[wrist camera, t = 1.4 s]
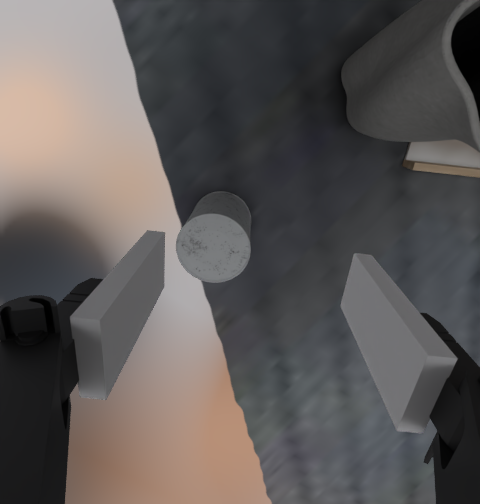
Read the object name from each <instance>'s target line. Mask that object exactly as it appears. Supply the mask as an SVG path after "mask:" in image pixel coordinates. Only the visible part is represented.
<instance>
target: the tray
mask: <svg viewBox="0 0 480 504" xmlns="http://www.w3.org/2000/svg"><path fill="white" fill-rule="evenodd" d="M402 166H403V167H406V168H409V169H411V170H418V171H427V172H436V173H444V174H453V175H462V176H471V177H480V153H479V152H478V151H477V150H476V149H474V148H472V147H471V146H469V145H468V144H466V143H464V142H462V141H459V140H456V139H455V140H444V141H430V142H409V144H408V148H407V151H406V155H405V158H404V161H403V165H402Z"/></svg>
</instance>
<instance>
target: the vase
mask: <svg viewBox="0 0 480 504" xmlns="http://www.w3.org/2000/svg"><path fill="white" fill-rule="evenodd" d="M341 79H342V83H343V86H344V89H345V91H346V95H347V105H346V113H347V118H348V121H349V123H350V125H351V126H352V127H353V128H354V129H355V130H356V131H358V132H360V133H362V134H364V135H367V136H370V137H372V138H376V139H381V140H387V141H396V142H430V141H444V140H455V139H456V140H459V141H462V142H464V143H466V144H468V145H469V146H471V147H472V148H474V149H476V150H477V151H478V152H479V153H480V0H422V1H420V2H419V3H417V4H416V5H415V6H413V7H412V8H410V9H409V10H407V11H406V12H405V13H403V14H402V15H401V16H399V17H398V18H397V19H395V20H394V21H393V22H391V23H390V24H389V25H388V26H387V27H385V28H384V29H383V30H382V31H380V32H379V33H378V34H376V35H375V36H374V37H373V38H371V39H370V40H369V41H368V42H367V43H365V44H364V45H363V46H362V47H361V48H359V49H358V50H357V51H356V52H355V53H353V54H352V55H351V56H350V57H349V58H348V59H347V60H346V61H345V63H344V65H343V67H342V71H341Z"/></svg>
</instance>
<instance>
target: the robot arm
mask: <svg viewBox="0 0 480 504" xmlns="http://www.w3.org/2000/svg"><path fill="white" fill-rule="evenodd" d="M164 248H165V233H164V232H157V231H147V232H146V233H145V234H144V235H143V236H142V237H141V238H140V239H139V240H138V242H137V243H136V244H135V245H134V246H133V247H132V248H131V249H130V251H129V252H128V253H127V254H126V255H125V256H124V257H123V258H122V259H121V261H120V262H119V263H118V264H117V265H116V266H115V268H113V270H112V271H111V272H110V273H109V274H108V275H107V276H106V277H105V279H95V278H90V279H88V280H86V281H84V282H82V283H80V284H78V285H77V286H76V287H75V288H74V289H73V290H72V291H71V292H70V294H68V295H67V296H66V297H65V298H64V299H63V301H61V302H60V303H59V304H58V305H57V304H56V301H55V300H54V299H52V298H50V297H47V296H42V295H41V296H40V295H38V296H37V295H35V296H26V297H20V298H17V299H14V300H11V301H8V302H7V303H5V304H3V305H1V306H0V504H65V492H66V475H67V459H68V445H69V429H70V414H71V413H70V412H71V402H70V394H71V392H72V390H73V389H74V387H75V386H76V384H77V383H78V387H79V396H80V397H84V398H93V399H102V400H103V399H104V400H106V399H107V397H108V395H109V394H110V392H111V389H112V387H113V386H114V383H115V382H116V380H117V378H118V376H119V374H120V372H121V370H122V368H123V366H124V364H125V362H126V360H127V358H128V356H129V354H130V352H131V351H132V349H133V347H134V345H135V343H136V341H137V339H138V337H139V335H140V333H141V331H142V329H143V327H144V325H145V323H146V321H147V319H148V317H149V315H150V313H151V311H152V310H153V308H154V306H155V304H156V302H157V300H158V298H159V296H160V294H161V292H162V290H163V288H164V257H165V256H164V255H165V254H164V253H165V249H164ZM340 306H341V308H342V311H343V313H344V315H345V317H346V319H347V322H348V324H349V326H350V328H351V331H352V333H353V335H354V337H355V339H356V342H357V344H358V346H359V348H360V351H361V353H362V355H363V357H364V359H365V362H366V364H367V366H368V368H369V370H370V373H371V375H372V377H373V379H374V382H375V384H376V386H377V388H378V390H379V393H380V395H381V397H382V399H383V401H384V404H385V406H386V408H387V410H388V413H389V415H390V417H391V419H392V421H393V424H394V426H395V428H396V430H397V431H404V432H413V433H423V432H424V430H425V428H426V426H427V424H428V422H429V419H431V420H432V422H433V424H434V425H435V427H436V429H437V433H436V435H435V437H434V439H433V441H432V443H431V445H430V447H429V450H428V452H427V454H426V456H425V459H424V463H427V464H428V463H429V461H430V459H431V458H432V457H434V474H435V491H436V504H480V367H479V366H478V365H477V364H476V363H475V362H474V361H473V359H472V358H471V357H470V356H469V355H468V354H467V353H466V352H465V350H464V349H463V348H462V347H461V346H460V345H459V344H458V343H456V340H455V339H454V338H453V337H452V336H451V335H450V334H448V333H449V332H448V331H447V330H446V329H445V328H444V327H443V326H442V325H441V323H440V322H438V321H437V320H435V319H434V318H432V317H431V316H429V315H428V314H427V313H419V312H418V310H417V309H416V308H415V307H414V306H413V304H412V303H411V302H410V301H409V300H408V298H407V297H406V296H405V295H404V294H403V292H402V291H401V290H400V289H399V288H398V286H397V285H396V284H395V283H394V281H393V280H392V279H391V278H390V277H389V275H388V274H387V273H386V272H385V271H384V269H383V268H382V267H381V266H380V265H379V263H378V262H377V261H376V260H375V259H374V257H373V256H372V255H367V254H358V253H354V256H353V260H352V264H351V267H350V271H349V275H348V279H347V283H346V286H345V290H344V294H343V298H342V302H341V305H340Z"/></svg>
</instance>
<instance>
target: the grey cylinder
mask: <svg viewBox="0 0 480 504" xmlns="http://www.w3.org/2000/svg"><path fill="white" fill-rule="evenodd" d="M250 229H251V214H250V211H249V209H248V207H247V205H246V204H245V202H244V201H243V200H242V199H241V198H239V197H238V196H236V195H234V194H232V193H229V192H223V191H218V192H212V193H210V194H207V195H206V196H204V197H203V198H201V200H200V201H199V202H198V203H197V204H196V206H195V208H194V210H193V212H192V214H191V215H190V217H189V219H188V220H187V222H186V223H185V225H184V226H183V227H182V229H181V230H180V232H179V234H178V237H177V241H176V251H177V255H178V259H179V261H180V263H181V265H182V266H183V267H184V268H185V270H186V271H187V272H188V273H190V274H191V275H192V276H194V277H196V278H198V279H200V280H202V281H206V282H213V283H217V282H224V281H227V280H230V279H232V278H234V277H236V276H237V275H239V274H240V273H241V272H242V271H243V270H244V268H245V267H246V265H247V264H248V261H249V258H250V252H251V246H250Z"/></svg>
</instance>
